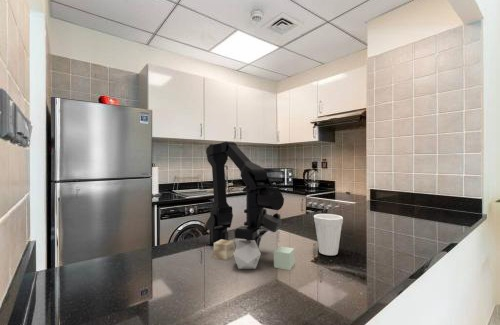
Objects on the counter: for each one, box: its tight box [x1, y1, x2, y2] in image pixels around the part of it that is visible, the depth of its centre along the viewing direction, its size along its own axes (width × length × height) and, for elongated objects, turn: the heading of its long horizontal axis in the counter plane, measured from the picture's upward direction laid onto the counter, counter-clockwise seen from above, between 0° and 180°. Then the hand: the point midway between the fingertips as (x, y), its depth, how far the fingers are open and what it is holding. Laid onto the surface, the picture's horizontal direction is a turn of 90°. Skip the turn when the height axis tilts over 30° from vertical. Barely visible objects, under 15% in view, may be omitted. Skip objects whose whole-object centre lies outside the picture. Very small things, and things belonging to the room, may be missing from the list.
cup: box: [313, 213, 344, 256], centre depth 86 cm, size 10×10×13 cm
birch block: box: [213, 239, 235, 261], centre depth 83 cm, size 5×5×5 cm
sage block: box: [273, 246, 295, 271], centre depth 75 cm, size 5×5×5 cm
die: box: [233, 239, 262, 270], centre depth 74 cm, size 8×9×10 cm
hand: (255, 253), depth 80 cm, fingers closed
